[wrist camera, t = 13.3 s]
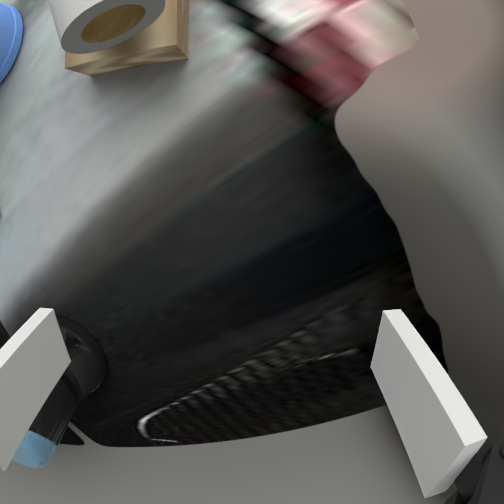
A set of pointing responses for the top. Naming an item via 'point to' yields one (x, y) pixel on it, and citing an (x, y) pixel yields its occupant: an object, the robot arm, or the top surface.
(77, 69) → the oak brick
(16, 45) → the water jug
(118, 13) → the toilet paper
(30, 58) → the top surface
